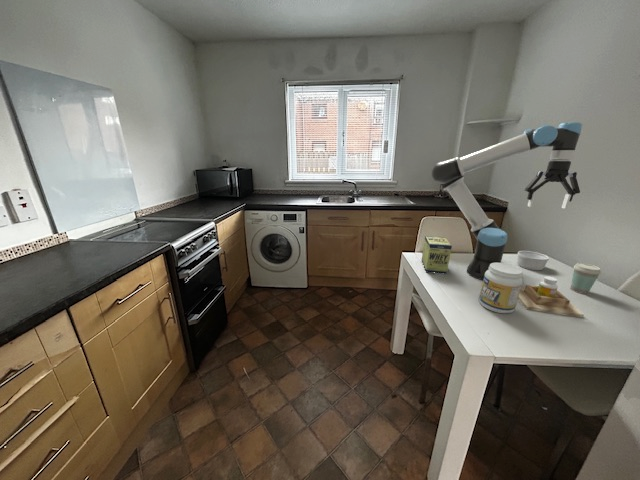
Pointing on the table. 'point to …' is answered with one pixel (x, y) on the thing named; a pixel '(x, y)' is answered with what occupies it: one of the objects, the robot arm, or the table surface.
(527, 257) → the ramekin
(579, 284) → the coffee cup
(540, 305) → the birch rack
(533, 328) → the table surface
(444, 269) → the protein box
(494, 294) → the supplement tub
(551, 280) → the supplement bottle
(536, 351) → the table surface
